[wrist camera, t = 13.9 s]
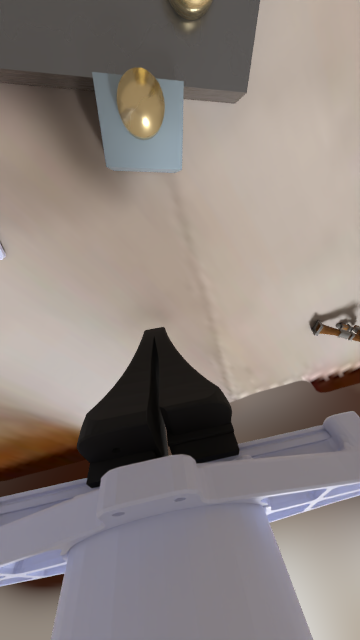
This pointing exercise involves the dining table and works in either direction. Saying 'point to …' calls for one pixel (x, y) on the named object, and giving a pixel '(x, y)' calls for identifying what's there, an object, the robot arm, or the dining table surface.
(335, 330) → the brown angled frame
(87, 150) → the dining table surface
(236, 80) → the base
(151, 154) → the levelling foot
